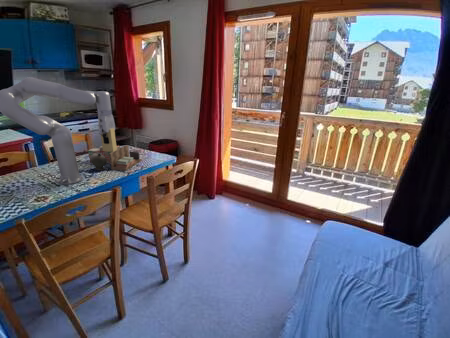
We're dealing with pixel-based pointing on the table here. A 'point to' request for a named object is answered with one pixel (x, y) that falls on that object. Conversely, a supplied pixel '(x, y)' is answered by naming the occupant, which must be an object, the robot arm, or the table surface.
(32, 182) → the table surface
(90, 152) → the stack of blocks
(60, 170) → the robot arm
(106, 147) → the book
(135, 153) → the shelf
